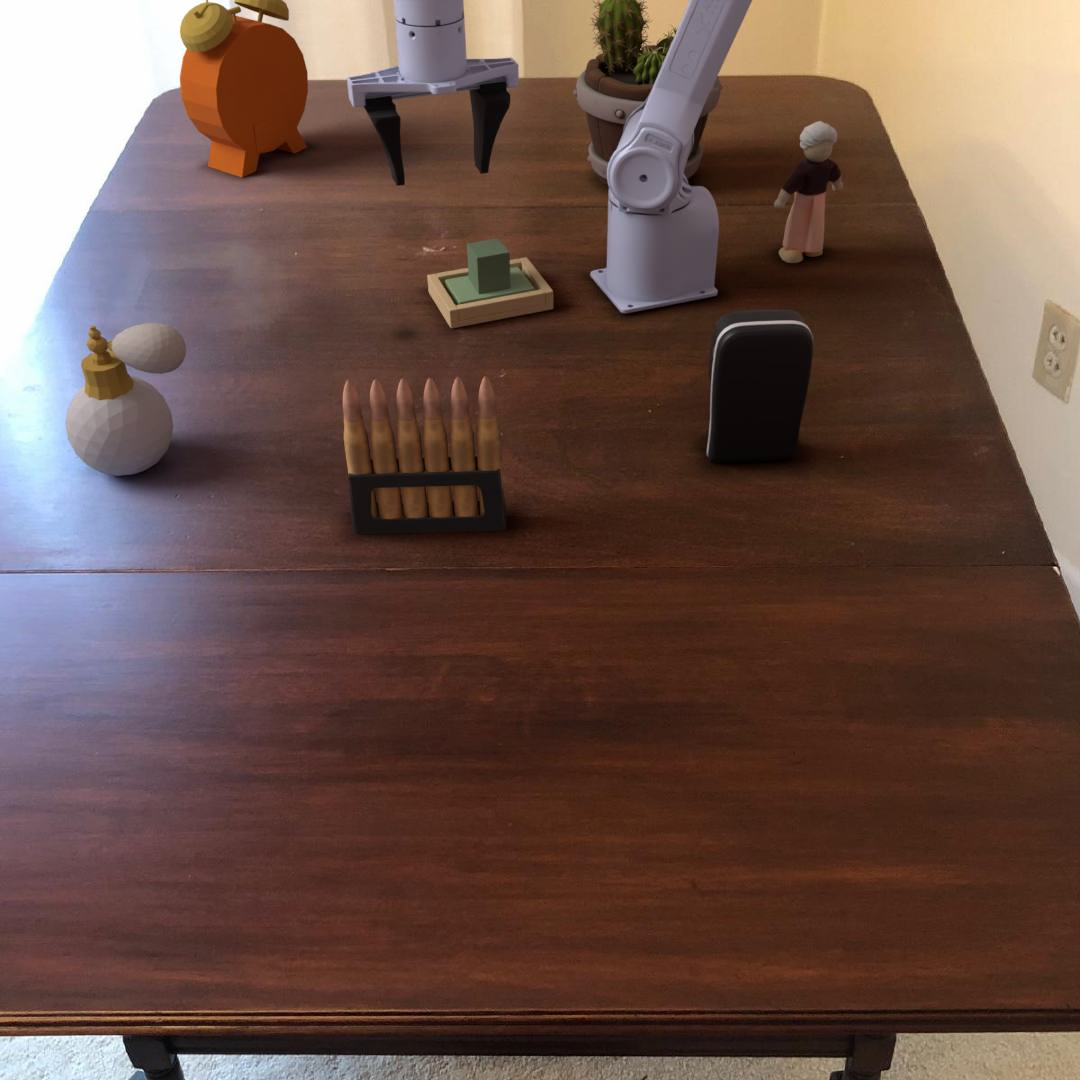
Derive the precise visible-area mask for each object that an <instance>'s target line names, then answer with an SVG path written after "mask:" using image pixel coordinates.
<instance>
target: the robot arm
mask: <svg viewBox="0 0 1080 1080" xmlns="http://www.w3.org/2000/svg"><path fill="white" fill-rule="evenodd" d="M392 1H393V13H394V23H395V34H396V44H397V45H396V46H397V58H398V65H396V66H392V67H388V68H383V69H380V70H376V71H373V72H369V73H365V74H360V75H354V76H353V75H352V76H347V77H346V85H347V93H348V100H349V102H350V104H351V106H352V107H353V108H362V107H363V108H364V110H365V112H366V114H367V115H368V117H369V119H370V121H371V124H372V125H373V127H374V129H375V131H376V133H377V135H378V137H379V140H380V142H381V145H382V147H383V150H384V152H385V155H386V158H387V161H388V165H389V169H390V173H391V179H392V180H393V182H394V184H395V185H396V186H397V187H398V186H405V184H406V183H405V182H406V180H405V179H406V178H405V177H406V176H405V169H404V163H403V157H402V146H401V145H402V144H401V141H402V140H401V116H400V115H399V113H398V111H397V107H396V106H397V105H396V104H395V103H394V102H393V101H394V100H403V99H410V98H418V97H426V96H433V95H434V96H442V95H449V94H455V93H457V92H465V91H469V98H470V99H469V100H470V106H471V114H472V124H473V159H474V166H475V168H476V169H477V170H478V171H479V173H480V174H481V175H482V174H488V173H489V171H490V169H489V168H490V162H491V157H492V153H493V148H494V144H495V141H496V137H497V134H498V132H499V129H500V127H501V125H502V122H503V120H504V118H505V116H506V114H507V113H508V111H509V109H510V107H511V94H510V92H509V91H508V89H512V88H519V86H520V73H519V72H520V71H519V63H518V62H517V61H516V60H515V59H514V58H513V57H512V56H510V57H501V58H500V57H499V58H467V41H466V40H467V39H466V23H465V21H466V19H465V9H464V8H465V4H464V3H465V1H464V0H392ZM752 2H753V0H689V1H688V3H687V6H686V8H685V11H684V13H683V14H682V17H681V20H680V22H679V25H678V26H677V28H678V29H677V28H676V30H677V31H676V34H675V33H674V39H673V41H672V43H671V46H670V48H669V50H668V53H667V55H666V57H665V60H664V62H663V64H662V67H661V69H660V71H659V74H658V76H657V78H656V80H655V83H654V85H653V87H652V90H651V92H650V94H649V96H648V98H647V99H646V100H645V102H644V103H643V104H642V105H640V106H639V107H638V108H637V109H635V110H634V111H633V112H632V113H631V114H630V115H629V117H628V119H627V120H626V123H625V125H624V128H623V135H622V137H621V139H620V142H619V144H618V147H617V149H616V151H615V152H614V153H613V155H612V157H611V159H610V161H609V163H608V168H607V182H608V185H609V187H608V192H607V193H608V195H607V196H608V198H607V233H606V234H607V235H606V236H607V238H606V239H607V240H606V241H607V242H606V267H604V268H599V269H594V270H591V271H590V274H589V277H590V278H591V279H592V280H593V282H595V284H596V285H597V286H598V287H599V288H600V290H601V291H602V292H603V293H604V294H605V295H606V297H607V298H608V299H609V300H610V301H611V303H612V304H613V305H614V306H615V308H617V310H618V311H619V312H620V313H622V314H631V313H632V314H633V313H636V312H642V311H646V310H651V309H656V308H662V307H667V306H672V305H677V304H683V303H689V302H692V301H697V300H702V299H703V300H704V299H708V298H712V297H716V296H718V289H717V287H715V283H716V282H715V281H716V271H717V256H718V246H719V234H720V220H719V219H720V218H719V213H718V208H717V204H716V202H715V199H714V197H713V195H712V194H711V192H710V191H709V190H708V189H707V188H706V187H704V186H703V185H690V184H689V181H688V180H687V179H686V177H685V174H684V170H685V166H686V163H687V160H688V157H689V155H690V153H691V151H692V148H693V144H694V129H695V126H696V124H697V121H698V119H699V116H700V114H701V111H702V109H703V106H704V104H705V102H706V100H707V98H708V96H709V93H710V91H711V89H712V87H713V85H714V83H715V80H716V78H717V76H718V77H719V74H720V71H721V69H722V67H723V65H724V63H725V61H726V58H727V57H728V54H729V52H730V50H731V47H732V46H733V43H734V41H735V39H736V36H737V34H738V32H739V30H740V28H741V26H742V24H743V22H744V19H745V17H746V15H747V13H748V11H749V8H750V6H751V4H752ZM608 185H607V186H608Z"/></svg>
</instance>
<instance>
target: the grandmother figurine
mask: <svg viewBox="0 0 1080 1080" xmlns="http://www.w3.org/2000/svg"><path fill="white" fill-rule="evenodd" d="M799 140H800V142H799V146H800V148H801V149H802V150H803V153H804V156H805V157H806V158H805V159H804V160H802V161H800V162H798V164H797V165H796V166H795V168H794V169H793V170H792V172H791V173H790V175H789V176H788V178H787V179H786V180H785V181H784V183H783V184H782V186H781V189H780V191H779V193H778V195H777V199H776V200H775V201H774V202H773V207H774V209H775V210H778V211H782V210H784V209H785V207H786V203H787V202H789V199H790V198H791V196H792V195H793V194H794V198H793V199H794V200H793V201H792V205H791V208H790V211H789V212H788V213H789V214H788V216H787V219H786V222H785V227H784V234H783V239H782V247H781V248H780V249H779V251H778V255H779V257H780V259H781V260H782V261H783V262H785V263H787V264H797V263H800V262H802V261H803V260H804V257H803V255H804V256H807V257H810V258H814V257H819V256H822V255H823V253H824V252H823V249H824V243H825V240H824V239H825V220H826V219H825V215H826V214H825V213H826V195H827V190H828V184H829V183H830V184H831V189H832V190H833V192H836V193H839V192H841V191H842V190H843V189H844V183H843V181H842V171H841V168H840V167H839V165H838V164H837V163H836V162H835V161H833V160H832V159H829V158H830V156H831V154H832V152H833V149H834V148H833V146H834V145H835V143H837V141H838V133H837V131H836V128H835V127H833V126H831V125H830V124H829V123H825V122H824V121H822V120H818V121H815V122H813V123H811V124H810V125H807V126H805V127H803V130H802V131H801V134H800V135H799Z"/></svg>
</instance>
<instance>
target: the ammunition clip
mask: <svg viewBox="0 0 1080 1080" xmlns="http://www.w3.org/2000/svg"><path fill="white" fill-rule="evenodd" d="M395 402H396V433H394V430H393V426H392V424H391V419H390V418H391V417H390V413H389V407H388V401H387V397H386V393H385V391H384V389H383V387H382V385H381V383H380V381H379V380H378V379H377V378H375V379H374V380H373V381H372V383H371V386H370V392H369V413H370V414H369V415H370V417H369V420H370V431H369V433H368V430H367V429H366V425H365V421H364V416H363V412H362V406H361V401H360V397H359V393H358V392H357V389H356V388H355V385H354V383H353V382H352V380H350V379H347V380H346V381H345V384H344V387H343V393H342V411H343V412H342V413H343V427H344V429H343V443H344V451H345V458H346V466H347V473H348V475H347V477H348V488H349V489H348V490H349V503H350V513H351V526H352V527H351V528H352V533H354V534H355V535H375V534H378V535H379V534H380V535H381V534H412V533H414V534H415V533H416V534H417V533H449V532H453V533H454V532H485V531H486V532H487V531H505V530H506V529H507V509H506V501H505V500H506V499H505V490H504V477H503V476H504V475H503V459H502V458H503V457H502V456H503V455H502V437H501V435H502V434H501V429H500V426H499V422H498V421H499V420H498V413H497V401H496V396H495V392H494V388H493V386H492V383H491V380H490V379H489V377H488V376H486V375H485V376H483V378H482V380H481V382H480V385H479V390H478V398H477V424H476V425H477V426H476V432H475V434H474V430H473V427H472V422H471V414H470V407H469V400H468V394H467V391H466V388H465V385H464V383H463V380H462V379H461V377H459V376H456V377H455V379H454V381H453V384H452V388H451V393H450V427H449V435H448V434H447V431H446V427H445V423H444V417H443V410H442V403H441V398H440V393H439V390H438V388H437V385H436V383H435V381H434V379H433V378H432V377H428V378H427V380H426V382H425V385H424V390H423V399H422V408H423V415H422V416H423V426H422V427H423V428H422V434H421V432H420V428H419V426H418V419H417V414H416V409H415V403H414V398H413V394H412V391H411V389H410V385H409V384H408V382H407V381H406V379H405V378H400V381H399V383H398V386H397V390H396V401H395ZM368 434H369V435H368ZM421 435H422V436H421ZM448 437H449V438H448ZM475 437H476V438H475ZM448 439H449V443H448ZM475 439H476V448H475ZM448 444H449V445H448ZM475 450H476V451H475ZM449 452H450V453H449ZM449 454H450V455H449Z"/></svg>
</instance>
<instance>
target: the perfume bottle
mask: <svg viewBox="0 0 1080 1080" xmlns="http://www.w3.org/2000/svg"><path fill="white" fill-rule="evenodd" d="M89 328H90V330H88V333H87V335H88V337H89V338H88V339H87V341H86V347H87V348H88V350H89V351H90V352H91V353H89V354H87V355H86V356H85V357H83V358H82V360H81V364H80V367H81V370H82V373H83V377H84V380H85V384H83V386H81V387H80V389H79V390H78V391H77V392H76V393H75V395H73V397H72V398H71V400H70V403H69V405H68V407H67V410H66V417H65V423H64V425H65V431H66V436H67V440H68V442H69V444H70V446H71V448H72V450H73V452H74V453H75V455H76V456H77V457H78V458H79V459H80V460H81V461H82V462H83V463H84V464H85V465H86V466H88V467H90V468H91V469H93V470H95V471H97V472H99V473H101V474H106V475H111V476H115V477H119V476H129V475H130V476H131V475H136V474H139V473H141V472H144V471H146V470H148V469H149V468H151V467H153V466H154V465H156V464H157V463H159V461H160V460H161V459H162V457H163V456H164V455H165V454H166V452H167V451H168V449H169V446H170V444H171V442H172V438H173V431H174V421H173V416H172V415H173V414H172V411H171V408H170V407H169V405H168V403H167V401H166V399H165V397H164V396H163V395H162V394H161V392H160V391H158V389H157V388H156V387H155V386H153V384H151V383H149V382H148V381H146V380H144V379H142V378H140V377H139V376H135V375H131V374H129V373H128V369H127V366H128V367H131V368H133V369H135V370H137V371H140V372H144V373H148V374H158V375H162V374H167V373H171V372H173V371H176V370H177V369H179V368H180V367H181V365H182V364H183V363H184V361H185V359H186V355H187V344H186V341H185V339H184V337H183V336H182V333H180V332H179V330H177V329H175V327H173V326H171V325H167V324H165V323H158V322H146V323H140V324H136V325H133V326H130V327H128V328H126V329H124V330H122V331H121V332H119V333H117V334H116V336H115V337H114V338H113V339H111V340H110V341H107V338H105V337H103V336H102V333H101V331H100V330H99V329H98V328H97V327H96V325H90V326H89Z"/></svg>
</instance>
